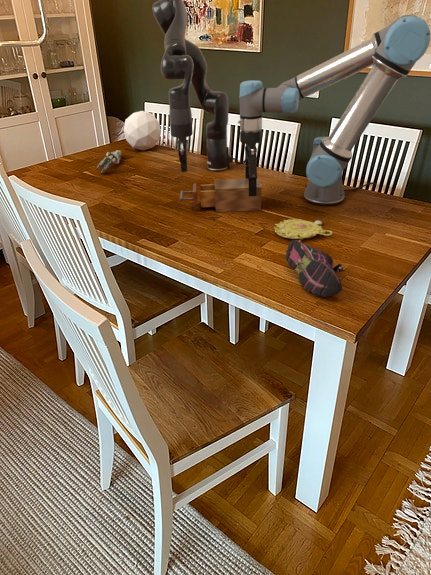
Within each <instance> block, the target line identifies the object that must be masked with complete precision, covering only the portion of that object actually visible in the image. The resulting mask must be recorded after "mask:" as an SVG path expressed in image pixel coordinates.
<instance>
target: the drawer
mask: <svg viewBox="0 0 431 575" xmlns="http://www.w3.org/2000/svg"><path fill="white" fill-rule="evenodd" d="M199 192H200V208H216V201H215V183H213V184H200V191H199ZM185 194H192V197H184V195H185ZM179 201H180V202H183V201H193V202H192V203H193V210H198V188H197V183H195V182H194V183H192V191H191V190H188V191H184V190H180V193H179Z"/></svg>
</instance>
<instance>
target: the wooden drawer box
mask: <svg viewBox="0 0 431 575" xmlns="http://www.w3.org/2000/svg"><path fill="white" fill-rule="evenodd" d="M214 184H215V201H216V207H215V213H225V212H226V213H229V212H253V211H262V190H263V188H262V185H261V181H260V179H259V177H257V189H256V196H250V197H249V179H247V178H245V177H244V178H221V179H219V178H218V179H217V178H216V179H214Z"/></svg>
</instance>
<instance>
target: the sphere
mask: <svg viewBox="0 0 431 575" xmlns="http://www.w3.org/2000/svg"><path fill="white" fill-rule="evenodd" d="M124 120H125V121H124V126H123V134H124V139H125V140H126V142H127V143H128V144H129V145H130V146H131V147H132V148H133V149H136V150H140V151H146V150H149V149H152V148H154V147H155V146H156V145H157V144H159V142H160V139H161V133H162V129H161V124H160V122H159V120H158V119H157V118H156V117H155V115H154V114H153V113H151V112H148V111H144V110H139V111H135V112H133V113H131V114H130V115H129V116H128V117H127V118H125V119H124Z"/></svg>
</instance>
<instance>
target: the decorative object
mask: <svg viewBox="0 0 431 575" xmlns="http://www.w3.org/2000/svg"><path fill="white" fill-rule="evenodd" d="M322 225H323V221H321V220H314V222H313V221H310V220H304V219H303V218H292V219H283V221H279V223H274V227H273V229H274V233H276V234H277V236H279V237H282V238H284V239H285V238H286V239H290V240H298V241H299V242H302V240H305V239H310V238H313V237H315V236H317V235H319V236H320V235H321V236H325V237H329V236H331V235H333V231H332V230H325V229H323V227H322ZM326 233H327V234H326Z"/></svg>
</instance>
